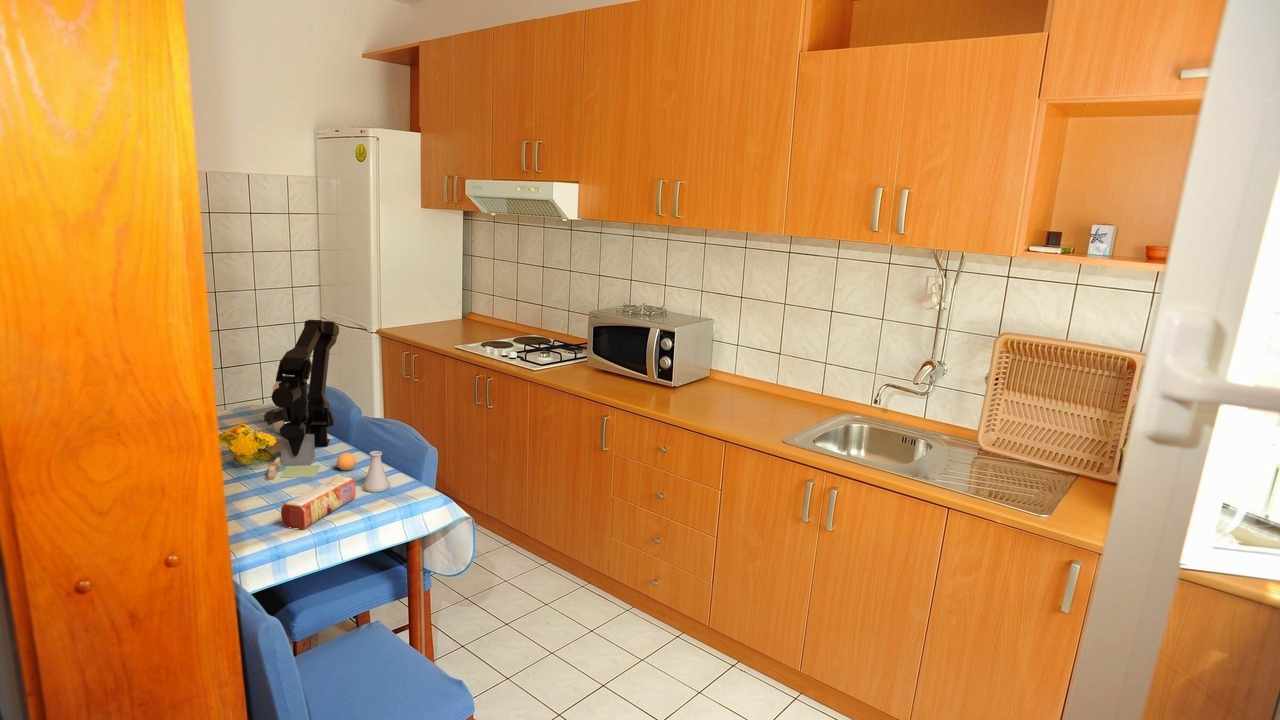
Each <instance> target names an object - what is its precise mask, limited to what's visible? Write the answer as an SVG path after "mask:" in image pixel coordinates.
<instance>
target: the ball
mask: <svg viewBox="0 0 1280 720" xmlns="http://www.w3.org/2000/svg"><path fill="white" fill-rule="evenodd" d="M356 462H357V460H356V457H355V455H353V454H352V453H349V452H344V453H341V454H340V455H339V456H338V458H337V460H336V466H337V467H338V469H340V470H341V471H347V472H348V471H350V470H352V469H354V468H355V466H356Z"/></svg>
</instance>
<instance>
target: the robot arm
mask: <svg viewBox="0 0 1280 720" xmlns="http://www.w3.org/2000/svg"><path fill="white" fill-rule="evenodd" d="M339 335H340V327H339V325H338V324H336V322H335V321H334V320H331V321H330V320H321V319H307V320H305V321H304V327H303V330H302V331H301V333H300V335H299V337H298V338H297V341H296V343H295V345H294V347H293V348H291V349H289V350H287V351H286V352H285V353H284V354H283V356H282V358H281V359H280V360H279V364H278V368H277V372H276V377H275V383H276V382H280V383H279V388H277V389H275V390H274V392H273V391H272V394H271V400H272V403H273V405H274V406H275V405H276V406H278V407H279V408H276V409H275V408H274V409H271V410H268V411H266V412H265V413H264V414H263V418H264V419H263V421H264V422H265V423H266V424H267V426H271V425H274V423H276V422H279V421H281V420H283V422H290V423H285V424H283V425H282V427H281V428H280V433H279V437H281V438H282V439H283V438H285V439H287V440H288V442H289V444H290V447H291V450H292V453H293V456H297V455H298V453H299V450H300V448H301V445H302V442H303V440H304V437H305V434H314V445H315V448H317V446H319V447H329V443H330V442H329V441H331V439H330V438H328V428H330V427H333V426H334V425H335V423H334V422H335V419H334V418H335V417H334V414H333V412H332V410H331V409H330V402H329V400H328V399H327V397H326V387H327V386H326V385H327V379H328V378H327V377H328V370H329V360H330V353H331V352H330V351H331V349H332V348H333V346H335V344H336V342H337V338H338V336H339ZM311 355H312V360H311ZM283 373H284V375H289V376H283ZM308 380H309V385H308ZM308 386H309V388H308Z"/></svg>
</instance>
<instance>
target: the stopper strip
mask: <svg viewBox="0 0 1280 720" xmlns="http://www.w3.org/2000/svg"><path fill="white" fill-rule="evenodd" d="M281 467H282V466H281V456H277V457H276V459H275V460H274V462H273V464H272V465H271V467H270V468H269V470H268V481H273V480H274V479H275V477H276V476H277V474H278V472H279V470H280V469H281Z"/></svg>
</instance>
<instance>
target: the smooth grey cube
mask: <svg viewBox="0 0 1280 720" xmlns="http://www.w3.org/2000/svg"><path fill="white" fill-rule="evenodd" d="M315 449H316V447H315V445H314V434H305V437H304V440H303V442H302V445H301V448H300V450H299V453H298V455H297V456H293V453H292V450H291V447H290V444H289V442H288V440H287V439H285V438H283V437H282V440H281V442H280V457H281V467H286V466H303V465H313V464H312V463H313V461H314V459H315V456H316V451H315Z"/></svg>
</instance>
